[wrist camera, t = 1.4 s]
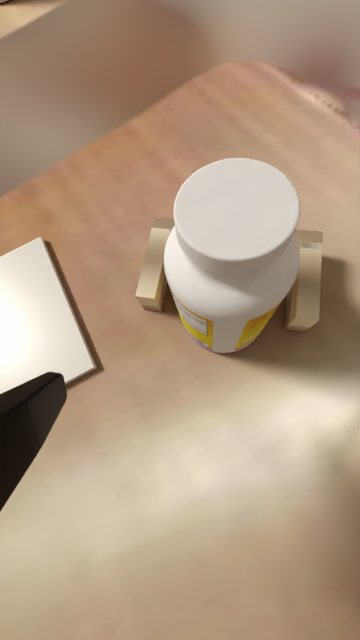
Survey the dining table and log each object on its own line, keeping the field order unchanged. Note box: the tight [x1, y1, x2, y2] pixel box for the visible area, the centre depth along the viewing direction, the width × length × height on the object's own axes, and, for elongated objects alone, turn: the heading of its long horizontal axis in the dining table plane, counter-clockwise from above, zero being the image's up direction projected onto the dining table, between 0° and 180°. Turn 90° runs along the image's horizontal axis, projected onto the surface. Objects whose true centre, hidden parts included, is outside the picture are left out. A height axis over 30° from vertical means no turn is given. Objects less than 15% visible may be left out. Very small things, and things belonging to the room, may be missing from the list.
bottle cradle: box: [135, 217, 323, 332], centre depth 22 cm, size 7×13×3 cm, turn 80°
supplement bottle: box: [164, 158, 300, 353], centre depth 16 cm, size 7×7×13 cm
